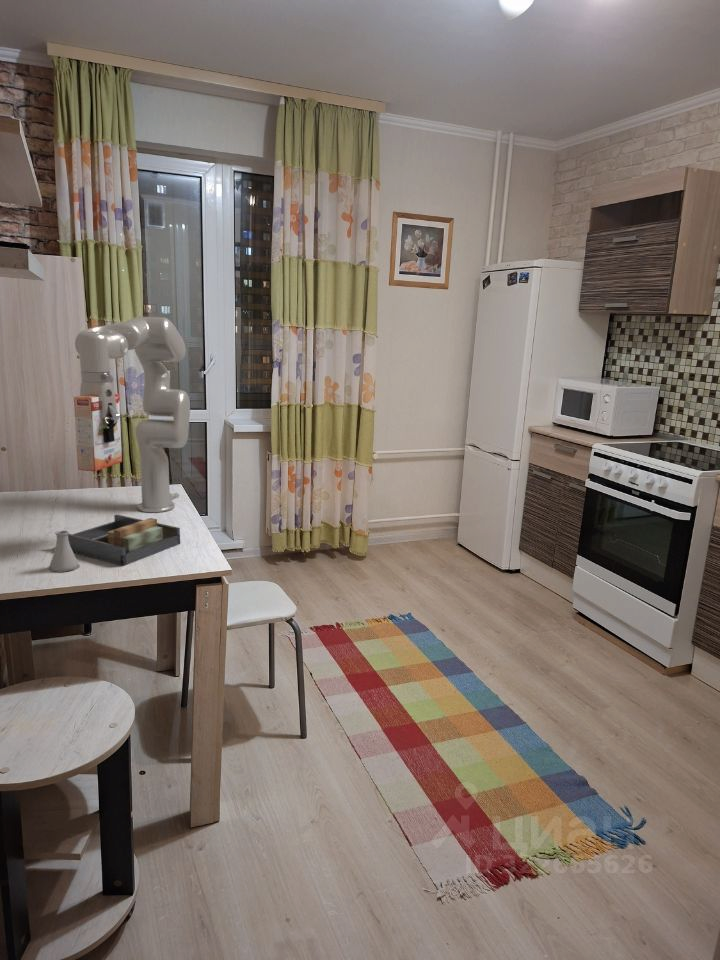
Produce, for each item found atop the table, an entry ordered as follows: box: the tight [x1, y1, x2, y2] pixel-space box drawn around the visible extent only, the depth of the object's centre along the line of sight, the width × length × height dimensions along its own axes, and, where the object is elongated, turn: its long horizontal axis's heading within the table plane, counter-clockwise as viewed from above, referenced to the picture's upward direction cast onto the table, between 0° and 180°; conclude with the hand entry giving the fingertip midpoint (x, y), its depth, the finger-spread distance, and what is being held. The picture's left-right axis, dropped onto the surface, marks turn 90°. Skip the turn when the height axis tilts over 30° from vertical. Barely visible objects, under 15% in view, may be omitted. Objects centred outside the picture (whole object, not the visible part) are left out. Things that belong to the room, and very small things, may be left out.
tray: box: [68, 514, 181, 566], centre depth 191 cm, size 22×26×5 cm
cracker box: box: [73, 392, 123, 472], centre depth 187 cm, size 14×6×21 cm, turn 168°
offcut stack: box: [106, 517, 163, 552], centre depth 188 cm, size 14×8×8 cm, turn 153°
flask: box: [48, 529, 81, 573], centre depth 173 cm, size 7×7×10 cm
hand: (99, 439), depth 188 cm, fingers closed on cracker box, 7 cm apart
